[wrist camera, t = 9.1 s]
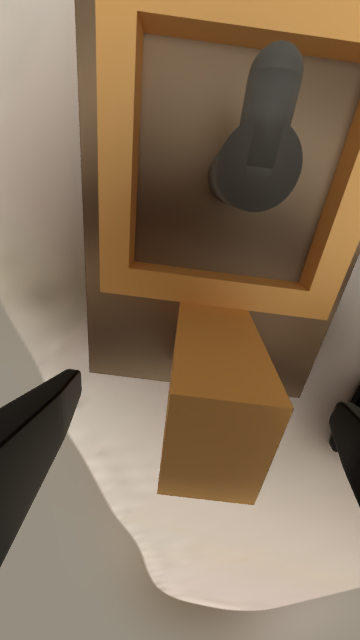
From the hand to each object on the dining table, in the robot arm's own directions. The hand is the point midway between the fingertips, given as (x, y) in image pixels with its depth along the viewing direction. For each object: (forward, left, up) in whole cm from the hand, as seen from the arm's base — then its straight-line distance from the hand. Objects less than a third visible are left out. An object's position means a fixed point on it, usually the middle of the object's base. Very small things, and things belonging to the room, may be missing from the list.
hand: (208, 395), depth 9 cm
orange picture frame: (+5, 0, -5) cm, 7 cm away
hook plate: (+4, 0, -6) cm, 8 cm away
